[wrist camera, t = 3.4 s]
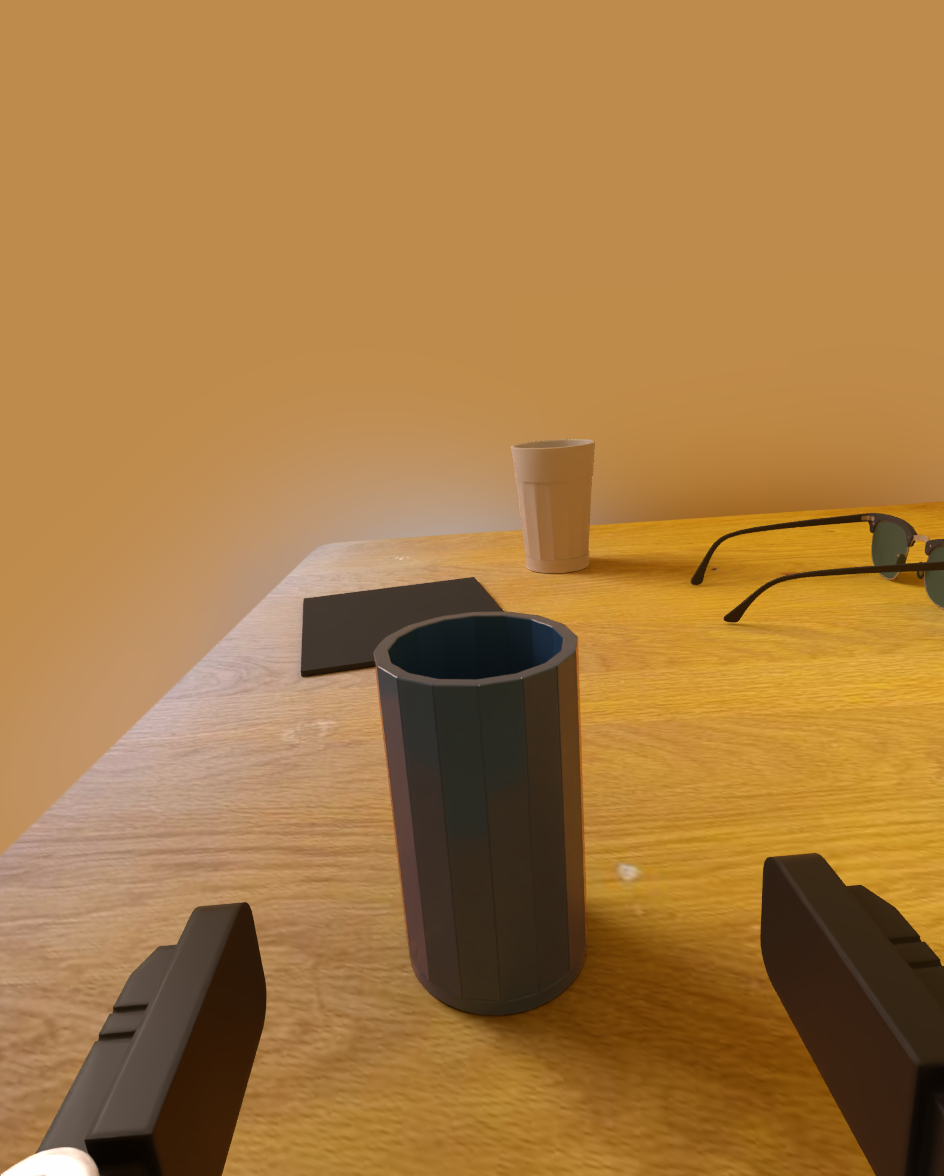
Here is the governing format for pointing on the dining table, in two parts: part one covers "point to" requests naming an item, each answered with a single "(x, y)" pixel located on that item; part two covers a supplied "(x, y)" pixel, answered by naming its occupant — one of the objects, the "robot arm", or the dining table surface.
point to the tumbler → (487, 805)
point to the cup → (555, 502)
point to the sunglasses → (886, 557)
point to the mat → (378, 619)
